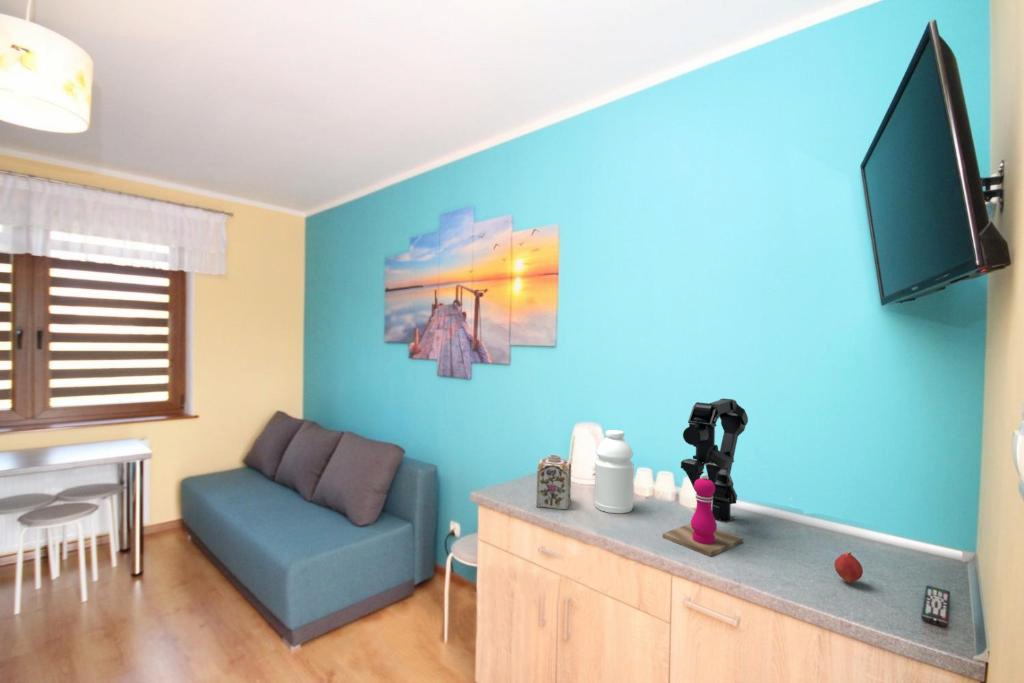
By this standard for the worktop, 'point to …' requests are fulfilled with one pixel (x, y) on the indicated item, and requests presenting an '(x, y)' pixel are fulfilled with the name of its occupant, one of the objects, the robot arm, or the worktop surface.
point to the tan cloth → (685, 538)
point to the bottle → (614, 474)
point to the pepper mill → (704, 512)
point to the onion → (848, 567)
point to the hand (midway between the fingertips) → (704, 488)
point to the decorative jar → (553, 482)
